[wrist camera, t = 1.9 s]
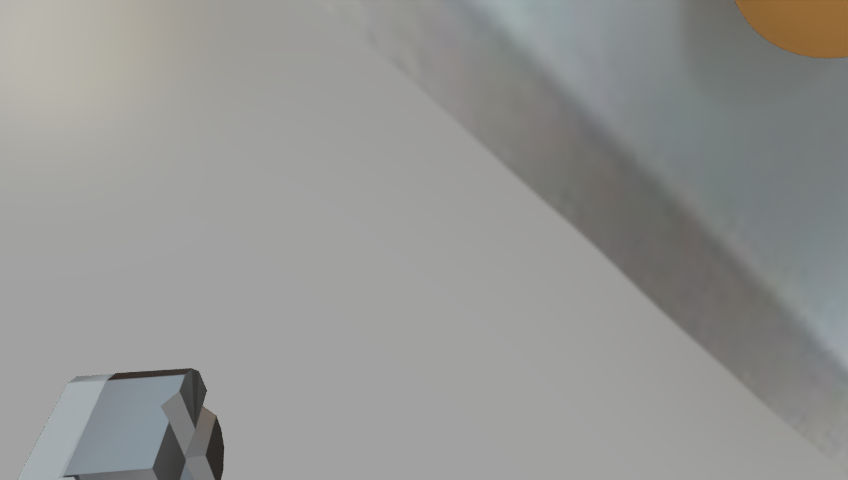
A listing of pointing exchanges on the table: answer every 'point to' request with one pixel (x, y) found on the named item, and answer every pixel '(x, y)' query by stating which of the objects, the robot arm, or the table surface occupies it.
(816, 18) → the ball
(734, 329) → the table surface
